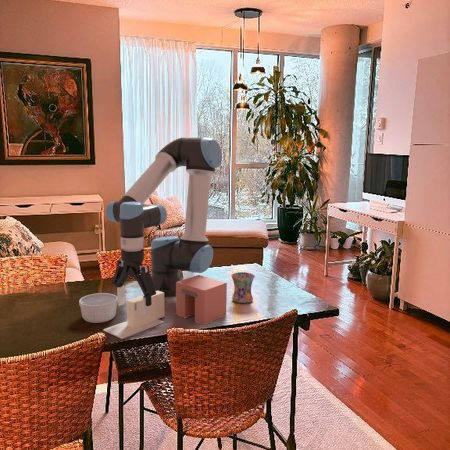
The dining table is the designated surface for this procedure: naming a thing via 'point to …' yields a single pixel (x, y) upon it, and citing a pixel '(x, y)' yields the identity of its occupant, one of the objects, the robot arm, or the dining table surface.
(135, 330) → the mat
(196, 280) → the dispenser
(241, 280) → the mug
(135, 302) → the cream white block
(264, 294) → the dining table surface
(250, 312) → the dining table surface
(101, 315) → the ramekin
